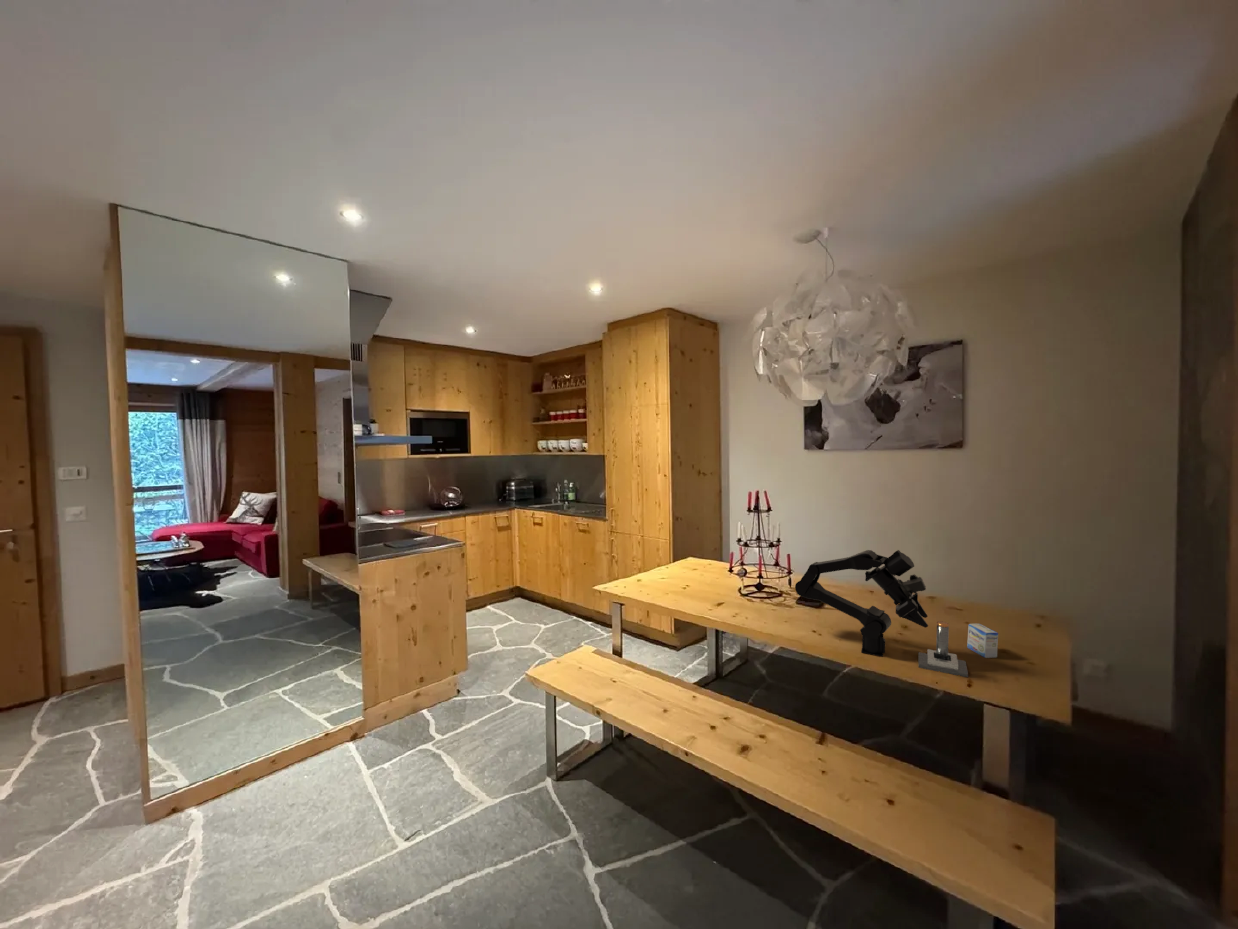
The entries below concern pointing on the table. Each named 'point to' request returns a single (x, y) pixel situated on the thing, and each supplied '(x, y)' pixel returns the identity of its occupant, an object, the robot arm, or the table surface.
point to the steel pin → (942, 640)
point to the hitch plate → (960, 666)
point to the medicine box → (982, 640)
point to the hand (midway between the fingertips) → (926, 621)
